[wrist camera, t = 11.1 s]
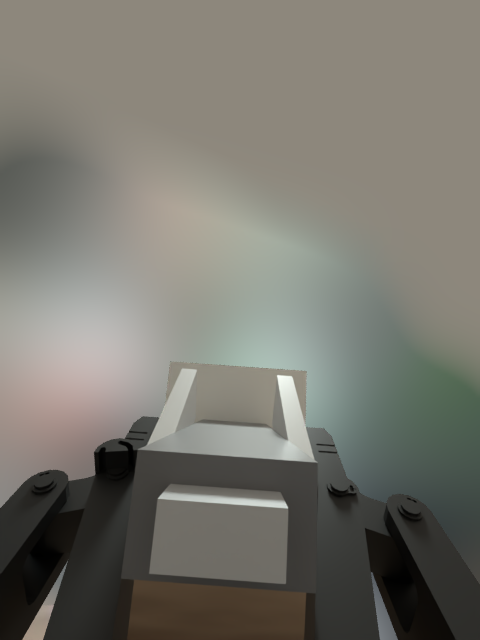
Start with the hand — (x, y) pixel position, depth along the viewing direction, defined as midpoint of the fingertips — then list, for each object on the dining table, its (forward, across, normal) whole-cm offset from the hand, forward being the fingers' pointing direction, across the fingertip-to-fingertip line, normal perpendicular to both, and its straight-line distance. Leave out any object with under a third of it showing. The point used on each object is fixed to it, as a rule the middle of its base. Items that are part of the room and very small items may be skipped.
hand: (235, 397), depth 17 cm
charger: (-1, 0, -4) cm, 4 cm away
